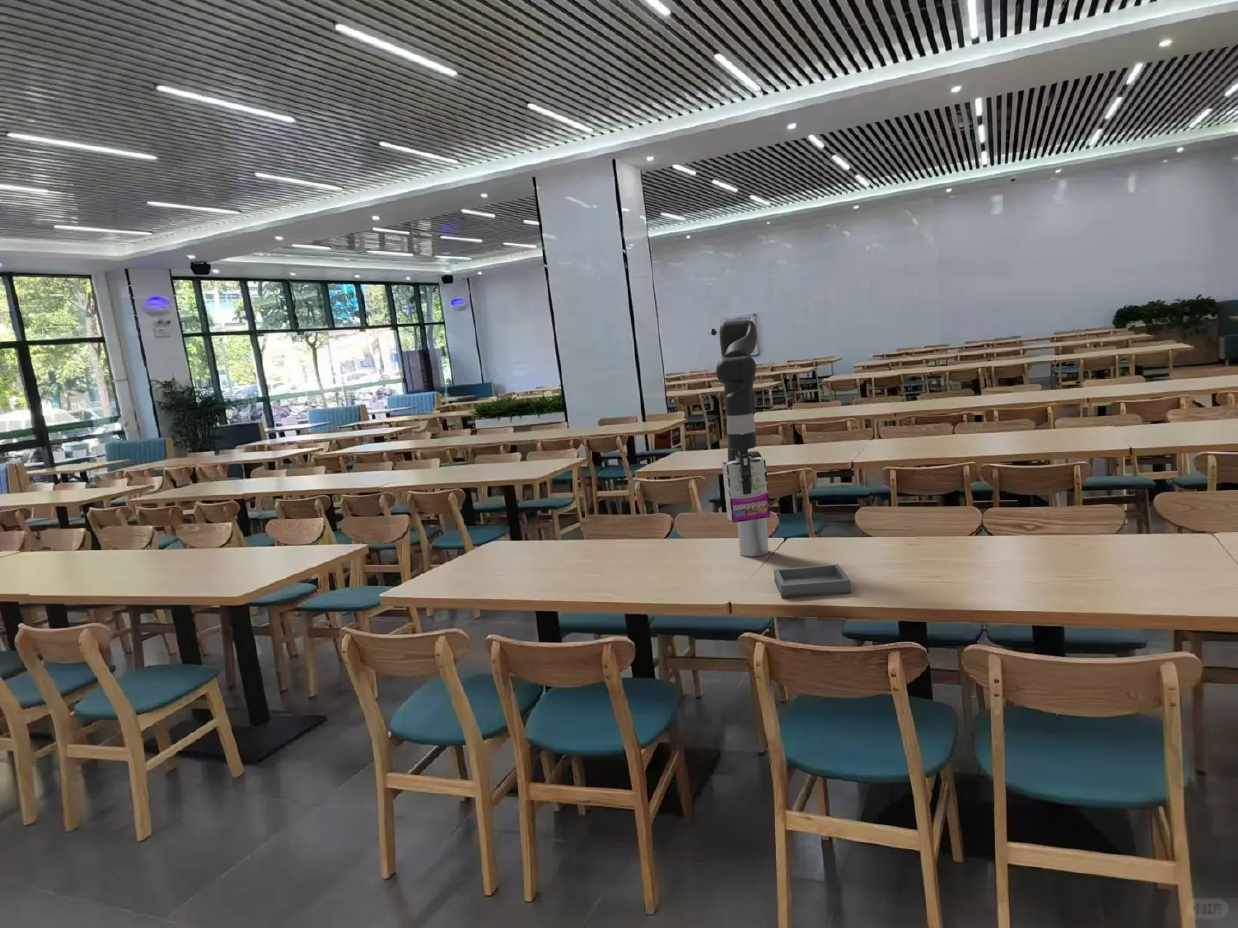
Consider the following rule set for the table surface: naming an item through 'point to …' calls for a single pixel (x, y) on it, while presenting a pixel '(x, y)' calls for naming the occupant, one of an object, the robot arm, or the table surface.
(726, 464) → the candy bar box
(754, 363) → the robot arm
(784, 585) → the tray
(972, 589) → the table surface
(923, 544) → the table surface
